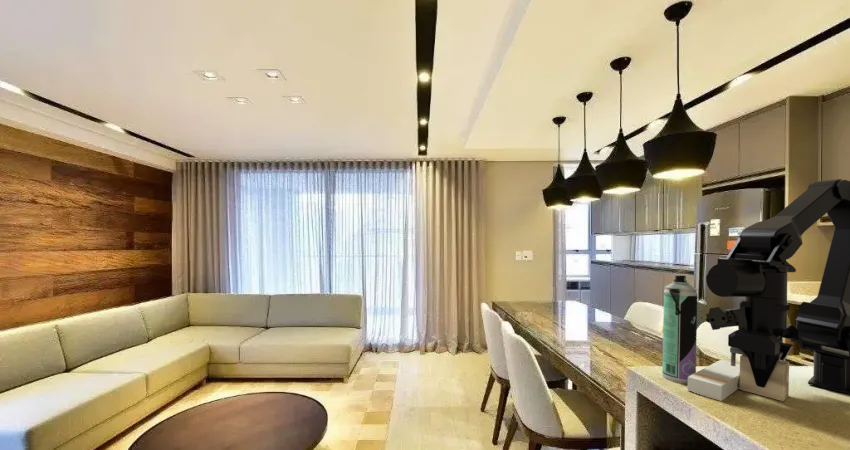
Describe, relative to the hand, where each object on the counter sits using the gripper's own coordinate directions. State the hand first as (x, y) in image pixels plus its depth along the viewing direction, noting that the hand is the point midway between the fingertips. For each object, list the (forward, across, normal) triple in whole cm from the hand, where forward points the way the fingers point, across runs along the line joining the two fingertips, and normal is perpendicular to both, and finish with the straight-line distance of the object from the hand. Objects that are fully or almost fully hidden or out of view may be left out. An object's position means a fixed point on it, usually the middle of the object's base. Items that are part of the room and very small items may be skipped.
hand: (763, 384), depth 71 cm
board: (+2, +2, -6) cm, 6 cm away
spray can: (+2, +5, -12) cm, 13 cm away
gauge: (+2, 0, 0) cm, 2 cm away
